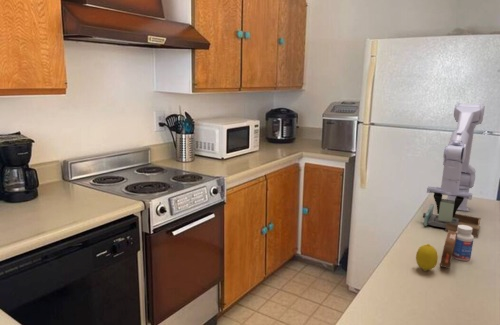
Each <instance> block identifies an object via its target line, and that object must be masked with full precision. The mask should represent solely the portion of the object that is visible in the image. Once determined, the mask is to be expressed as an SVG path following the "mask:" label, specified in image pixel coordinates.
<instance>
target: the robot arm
mask: <svg viewBox="0 0 500 325" xmlns="http://www.w3.org/2000/svg"><path fill="white" fill-rule="evenodd" d="M453 108H454V109H453V117H454V120H455V122H456V123H457V124H456V125H457V126H456V129H455V130H454V131H452V132H451V135H450V138H449V141H448V144H447V145H445V147H444V149H443V156H442V157H443V162H442V166H443V169H442V170H443V171H442V178H441V185H440V187H438V186H427V188H426V193H427V194H433V199H434V202H435V205H436V210H437V213H436V215H439V209H440V202H441V200H442V199H443V196H447V198H446V199H447V200H453V201H455V204H454V210H453V217H455V214H457V211H465V212H469V211H470V210H469V208H468V206H467V205H468V200H470V201H471V200H472V199H473V193H471V192H470V189H472V188H474V186H475V185H474V184H475V181H476V169H475V168H474V167H473V166H472V165H471V164H470V159H471V153H472V146H473V141H474V140H473V139H474V134H475V129H476V127H477V126H478V125H482V124H483V120H484V116H485V114H484V113H485V104H484V103H465V102H464V103H463V102H457V103H455V105H454V107H453Z"/></svg>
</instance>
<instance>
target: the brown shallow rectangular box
mask: <svg viewBox="0 0 500 325" xmlns="http://www.w3.org/2000/svg"><path fill="white" fill-rule="evenodd" d="M453 218H456V219H459V222H458V225H467V226H470V227H472V228H473V230H472V235H473V237H474V238H475V239H478V235H479V230H480V225H481V224H480V222H481V219H482V218H480V217H475V216H472V215H471V216H470V215H466V214H460V213H455V217H453ZM458 225H457V224H452V223H447V225H446V228H444V231H445V232H446V233H448V230H450V231H454V232H457V227H458Z"/></svg>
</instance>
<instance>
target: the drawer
mask: <svg viewBox="0 0 500 325" xmlns="http://www.w3.org/2000/svg"><path fill="white" fill-rule="evenodd" d="M434 206H435V204H431V205H430V207H429V208H428V209H427V212H423V214H422V218H424V222H423V225H424V226H425V227H427V226H428V225H429V226H432V227H439V228H442V229H443V228H444V229H446V225H447V223H450V222H445V221H440V220H438V216H439V214H437V213H436V214H435V213H434V208H435V207H434ZM458 222H459V219H456V218H453V220H452V222H451V223H452V224H457V225H458Z"/></svg>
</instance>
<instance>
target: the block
mask: <svg viewBox="0 0 500 325" xmlns="http://www.w3.org/2000/svg"><path fill="white" fill-rule="evenodd" d="M454 204H455V201H453V200H447V198H446V199H445V198H442V200H441V202H440V209H439V214H438V215H439V216H438V220H440V221H445V222H450V223H451V222H452V220H453V210H454Z"/></svg>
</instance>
